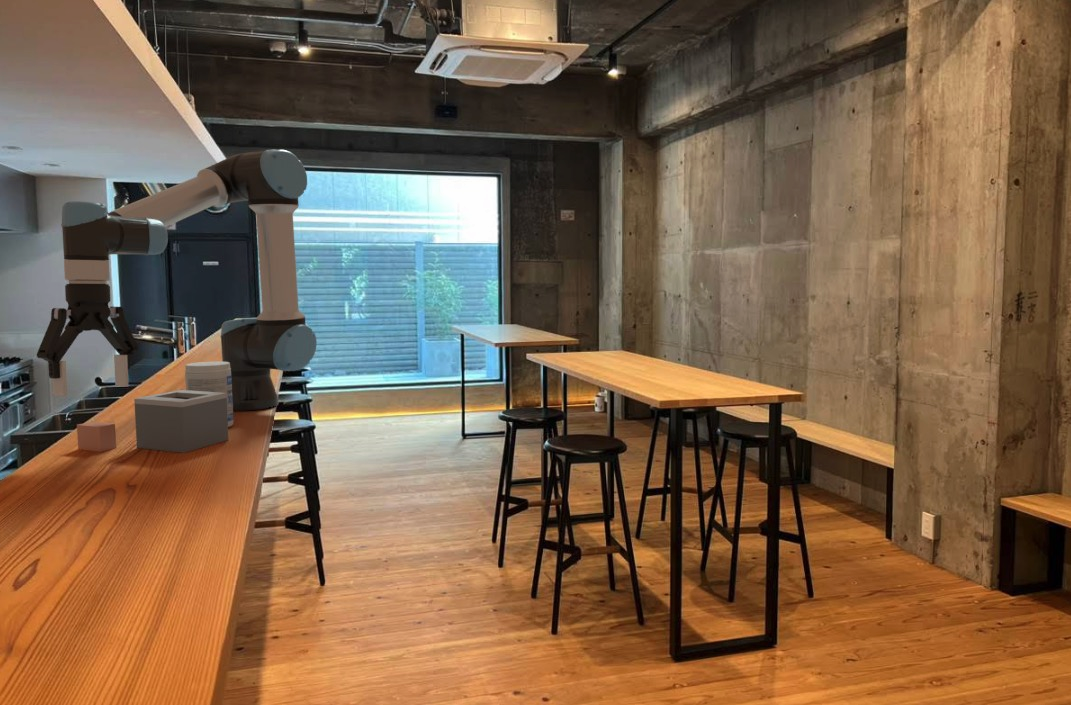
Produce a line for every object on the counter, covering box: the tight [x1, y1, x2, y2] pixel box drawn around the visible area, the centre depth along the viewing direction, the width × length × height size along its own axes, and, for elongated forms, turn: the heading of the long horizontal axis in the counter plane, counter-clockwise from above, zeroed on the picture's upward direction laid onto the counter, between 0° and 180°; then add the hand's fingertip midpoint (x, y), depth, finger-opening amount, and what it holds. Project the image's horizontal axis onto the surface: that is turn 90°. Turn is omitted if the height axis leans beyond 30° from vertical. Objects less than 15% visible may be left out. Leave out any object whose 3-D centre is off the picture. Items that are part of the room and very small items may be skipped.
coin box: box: [133, 389, 229, 454], centre depth 151 cm, size 12×12×10 cm
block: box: [76, 421, 117, 452], centre depth 147 cm, size 6×4×5 cm, turn 71°
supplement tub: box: [184, 361, 234, 428], centre depth 167 cm, size 10×10×15 cm
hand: (92, 390), depth 146 cm, fingers open, 13 cm apart
